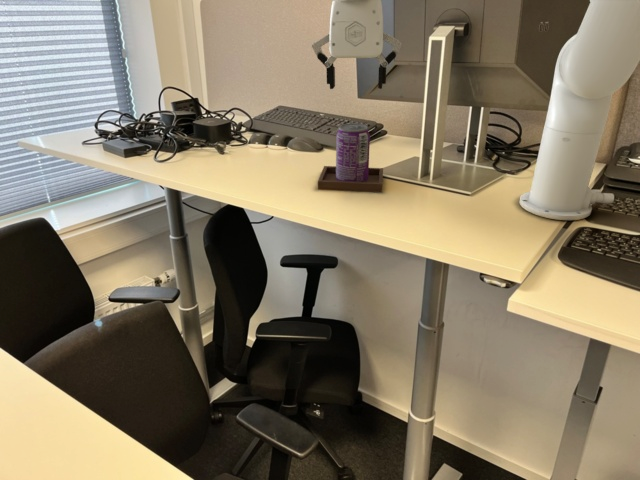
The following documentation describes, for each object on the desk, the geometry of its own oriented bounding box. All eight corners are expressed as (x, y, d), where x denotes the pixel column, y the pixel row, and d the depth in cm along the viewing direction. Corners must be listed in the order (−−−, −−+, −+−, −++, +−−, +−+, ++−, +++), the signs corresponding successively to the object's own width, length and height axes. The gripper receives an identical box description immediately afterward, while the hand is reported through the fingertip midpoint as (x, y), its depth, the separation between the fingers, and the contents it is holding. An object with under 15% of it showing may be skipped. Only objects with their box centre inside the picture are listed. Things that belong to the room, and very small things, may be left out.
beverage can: (368, 175, 106) (370, 122, 100) (367, 187, 100) (370, 131, 94) (337, 175, 107) (337, 122, 101) (334, 186, 100) (335, 130, 95)
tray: (382, 176, 107) (383, 168, 106) (381, 192, 98) (382, 183, 97) (324, 173, 109) (324, 165, 108) (317, 189, 100) (317, 181, 99)
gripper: (307, -8, 84) (310, 91, 92) (404, -11, 82) (399, 90, 89) (313, -7, 90) (316, 85, 98) (404, -10, 88) (399, 84, 96)
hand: (356, 87), depth 94 cm, fingers open, 9 cm apart
